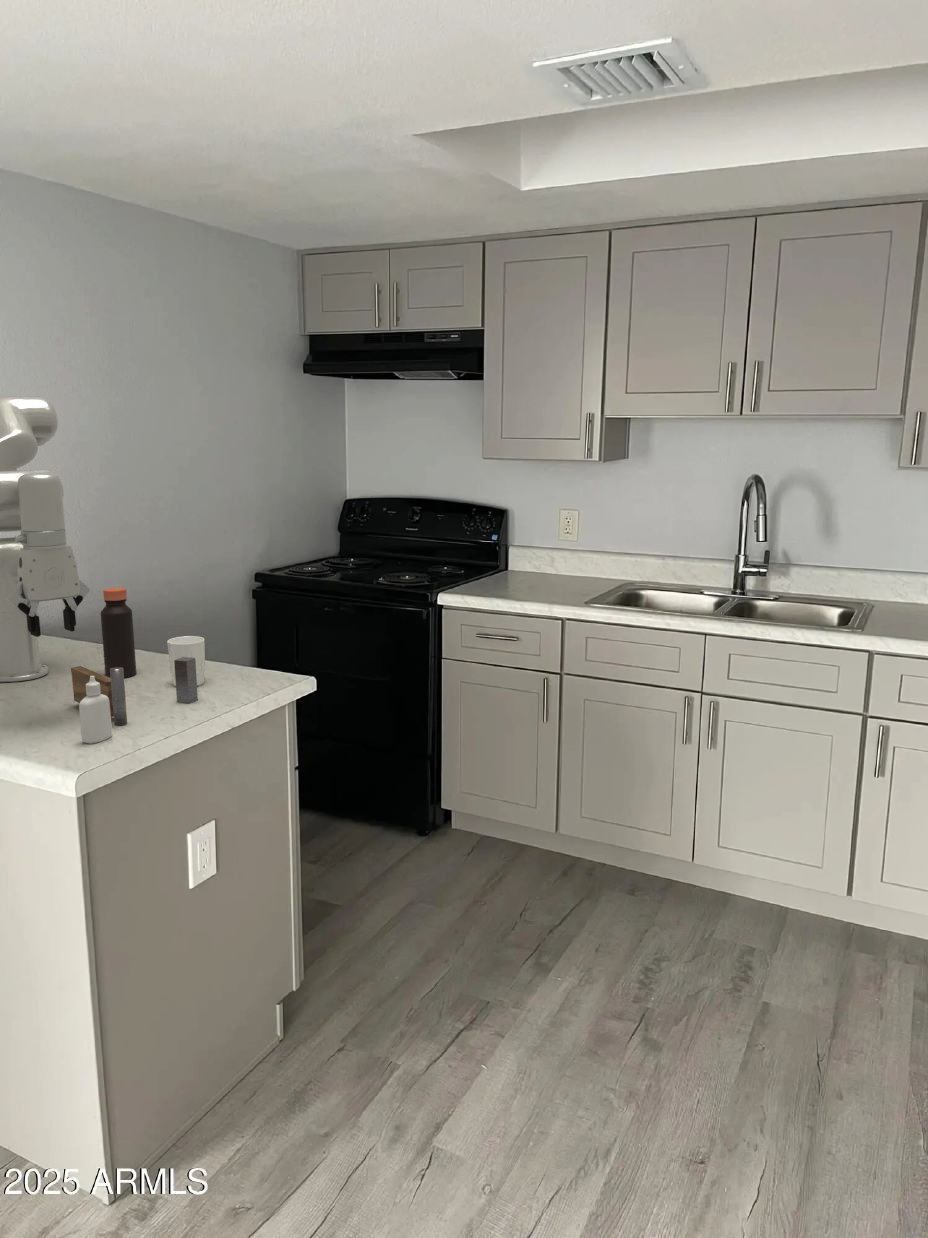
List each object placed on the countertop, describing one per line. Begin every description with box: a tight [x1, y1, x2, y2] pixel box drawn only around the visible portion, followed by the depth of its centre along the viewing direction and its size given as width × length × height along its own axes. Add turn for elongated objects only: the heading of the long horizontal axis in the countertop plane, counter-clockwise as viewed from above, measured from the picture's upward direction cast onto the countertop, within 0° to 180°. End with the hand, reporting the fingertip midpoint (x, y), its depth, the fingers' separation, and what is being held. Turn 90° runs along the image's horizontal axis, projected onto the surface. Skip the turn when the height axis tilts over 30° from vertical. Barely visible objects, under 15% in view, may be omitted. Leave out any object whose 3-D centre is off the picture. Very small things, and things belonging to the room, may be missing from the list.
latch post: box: [174, 657, 199, 704], centre depth 200 cm, size 3×3×9 cm
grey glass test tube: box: [110, 667, 128, 727], centre depth 185 cm, size 2×2×11 cm
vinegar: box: [100, 587, 137, 679], centre depth 219 cm, size 7×7×20 cm
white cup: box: [166, 635, 206, 687], centre depth 213 cm, size 8×8×10 cm
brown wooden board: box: [70, 665, 114, 718], centre depth 192 cm, size 2×16×7 cm, turn 45°
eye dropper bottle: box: [78, 676, 113, 744], centre depth 176 cm, size 4×6×12 cm
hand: (52, 632), depth 185 cm, fingers open, 5 cm apart
